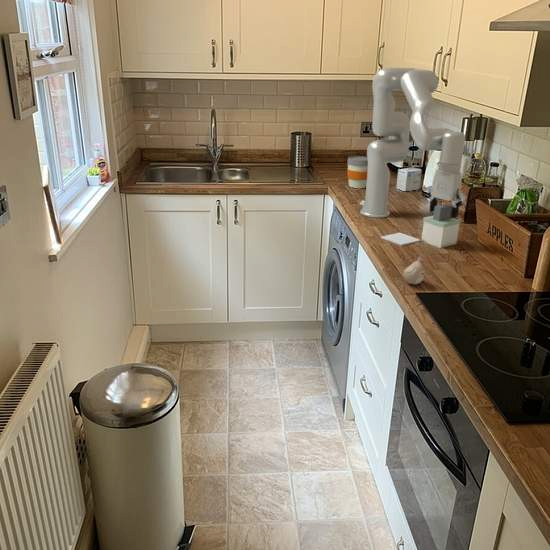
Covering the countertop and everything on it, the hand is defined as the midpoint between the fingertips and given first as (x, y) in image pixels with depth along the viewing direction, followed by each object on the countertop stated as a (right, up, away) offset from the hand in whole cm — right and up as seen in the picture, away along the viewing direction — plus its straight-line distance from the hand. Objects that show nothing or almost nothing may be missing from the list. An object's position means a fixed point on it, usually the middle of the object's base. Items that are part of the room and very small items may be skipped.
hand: (443, 214), depth 204 cm
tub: (0, -10, +4) cm, 11 cm away
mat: (-14, -9, +6) cm, 18 cm away
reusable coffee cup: (-19, +23, +84) cm, 89 cm away
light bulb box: (+6, +21, +82) cm, 85 cm away
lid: (0, -3, +1) cm, 3 cm away
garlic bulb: (-19, -25, -33) cm, 45 cm away
